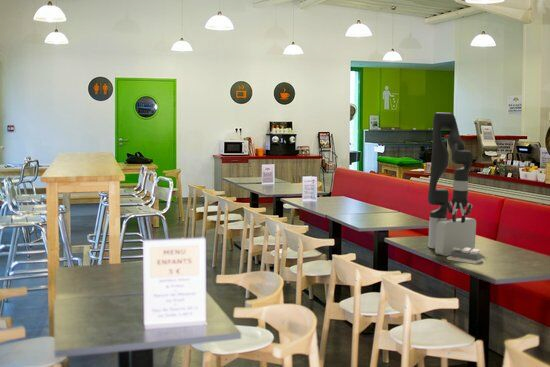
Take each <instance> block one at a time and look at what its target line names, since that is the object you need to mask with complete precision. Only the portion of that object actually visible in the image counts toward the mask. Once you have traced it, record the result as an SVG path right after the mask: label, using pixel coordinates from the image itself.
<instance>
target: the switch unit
mask: <svg viewBox="0 0 550 367" xmlns="http://www.w3.org/2000/svg"><path fill="white" fill-rule="evenodd" d="M446 260H449V261H455V262H459V263H460V262H462V263H466V264H472V265H473V264H474V265H477V264H478V263H481V262H483V260H484V259H483V258H482V253H479V252H478V253H477V254H470V252H468V253H464V252H462V251H459V250H454V251H452V252H451V255H448V256H447V257H446Z"/></svg>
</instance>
